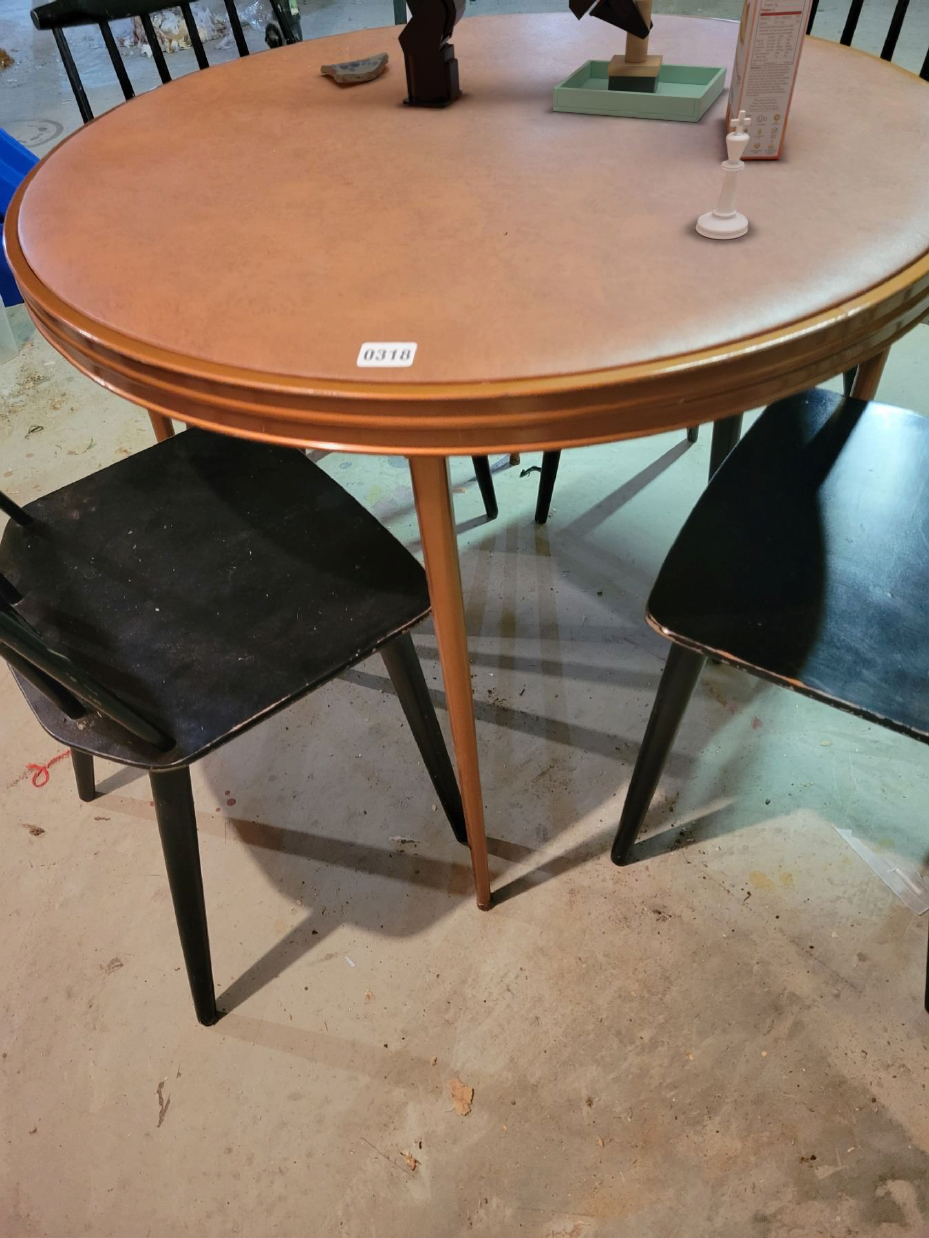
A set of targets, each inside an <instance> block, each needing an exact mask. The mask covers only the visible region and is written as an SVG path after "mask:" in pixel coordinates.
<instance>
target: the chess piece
mask: <svg viewBox="0 0 929 1238" xmlns="http://www.w3.org/2000/svg"><path fill="white" fill-rule="evenodd" d="M745 113H746V112H745V111H744V110H742V111H739V115H738V119H732V120H731V122H730V126H731V127H734V126H737V127H736V132H733V133H730V134H728V135H727V134H726V137H725V142H726V150H727V157H728V158H727V160H724V161H722V162H721V164H720V169H721V170H723V171H726V172H725V176H724V180H723V184H722V186H721V191H720V193H719V197H718V201H717V203H716V206H715V207H714V208H712V210H711V211H707V212H705V213H703V214H701V215H700V216H699V217H698V219H697V221H696V225H695V230H696V232H697V233H698V234H699V235H701V236H703V237H706V238H710V239H712V240H713V239H714V240H732V239H735V238H736V239H737V238H740V237H742V236H744V235H746V234H747V232H748V230H749V227H748V225H749V220H748V218H747V217H746V216H745V215H743V214H741V213H739V212H738V210H737V209H736V208H735V202H736V201H735V200H736V187H737V176H738V175H737V174H738V172H740V171H742V170H744V169H745V167H746V166H745V162H744V161H743V160H740V157H741V155H742V153H743V151H744V148H745V146H746V145H747V143H748V141H749V135H748V134H746V133H744V132H742V130H743V125H750V123H751V118H745Z"/></svg>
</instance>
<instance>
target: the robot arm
mask: <svg viewBox="0 0 929 1238" xmlns="http://www.w3.org/2000/svg"><path fill="white" fill-rule="evenodd" d="M404 2H405V3H406V6H407V8H408V10H409V13H410V15H411V17H410V19H409V20H408V22H407V24H406V25H405V26H404V28H403V29H402V31H401V32H400V33H399V34H398V37H397V40H398V43H399V45H400V48H401V51H402V54H403V60H404V70H405V80H406V89H407V97H405V98H403V99H402V105H407V106H420V107H431V108H444V107H445V106H448V104H450V103H451V102H453V101H455V100H456V99H457V98H458V97H460V96H461V95H463V89H461V87H460V72H459V71H460V70H459V60H458V58H456V56H455V54H456V53H455V44H454V43H449V42H448V41H449V40H450V39H452V37H453V34H454V29H455V27H456V25H457V24H458V23H459V22H460V21H461V20H462V18H463V17H464V14H465V11H466V7H467V6H466V4H467V0H404ZM595 3H596V4H595ZM594 4H595V5H594ZM593 5H594V6H593ZM592 6H593V7H592ZM568 8H569V10H570V12H571V13H572V14H573V15H574V17H575V18H576V19H577V21H580V20H581V19H582V18H583V17H584V16H585V14H586V13H587V12H588V11H589V10H590V11H589V12H588V15H589V16H590V17H591V18H593V17H594V18H596V19H599V20H601V21H603V22H605V23H608V24H609V25H612V26H614V27H616V28H618V29H620V30H622V31H625V32H626V33H627V32H628V33H630V34H632V35H634V36H636V37H638V38H640V39H643V40H644V39H645V38H646V37H647V36H648V35H649V36H650V33H651V30H652V29H653V27H654V23H653V20H652V19H651V21H650V30H649V28H648V26H647V24H646V21H645V19H644V17H643V15H642V13H641V11H640V9H639V7H638V5H637V3H636V1H635V0H568Z"/></svg>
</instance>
